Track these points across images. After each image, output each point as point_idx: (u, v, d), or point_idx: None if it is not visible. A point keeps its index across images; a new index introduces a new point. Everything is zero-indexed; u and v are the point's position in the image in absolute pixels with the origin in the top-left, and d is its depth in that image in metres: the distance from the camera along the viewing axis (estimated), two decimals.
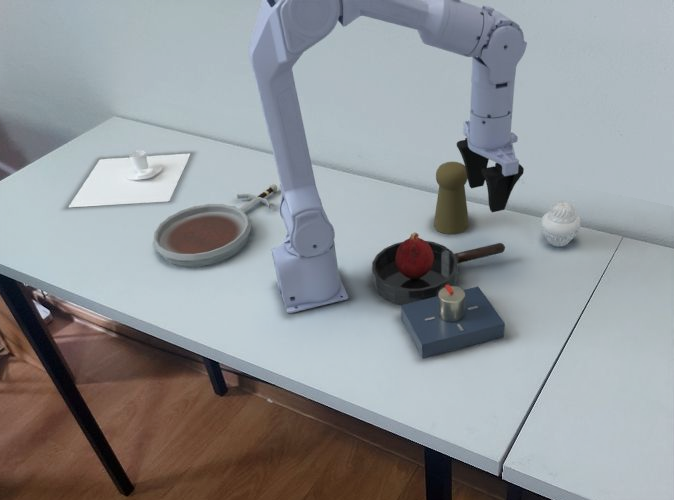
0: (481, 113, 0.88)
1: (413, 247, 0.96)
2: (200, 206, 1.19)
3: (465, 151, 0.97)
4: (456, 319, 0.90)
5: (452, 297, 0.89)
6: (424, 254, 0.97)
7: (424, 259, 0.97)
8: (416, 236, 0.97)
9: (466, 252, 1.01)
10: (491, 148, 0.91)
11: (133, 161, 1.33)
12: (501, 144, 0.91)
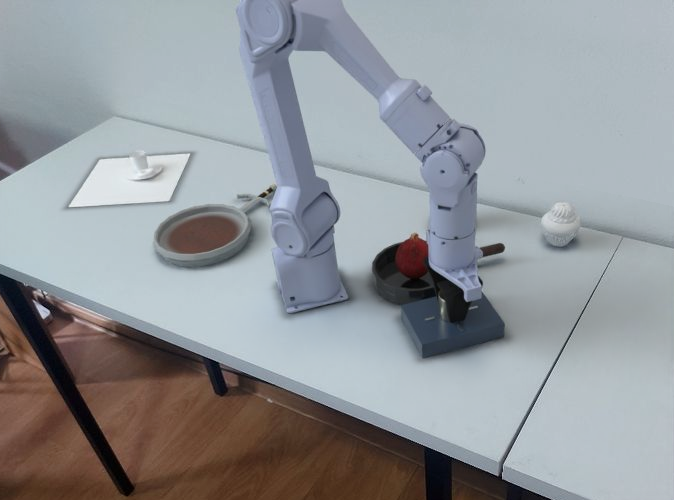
0: (430, 227, 0.81)
1: (413, 247, 0.96)
2: (200, 206, 1.19)
3: (432, 269, 0.88)
4: None
5: None
6: (424, 254, 0.97)
7: None
8: (416, 236, 0.97)
9: None
10: (453, 268, 0.83)
11: (133, 161, 1.33)
12: (464, 264, 0.83)
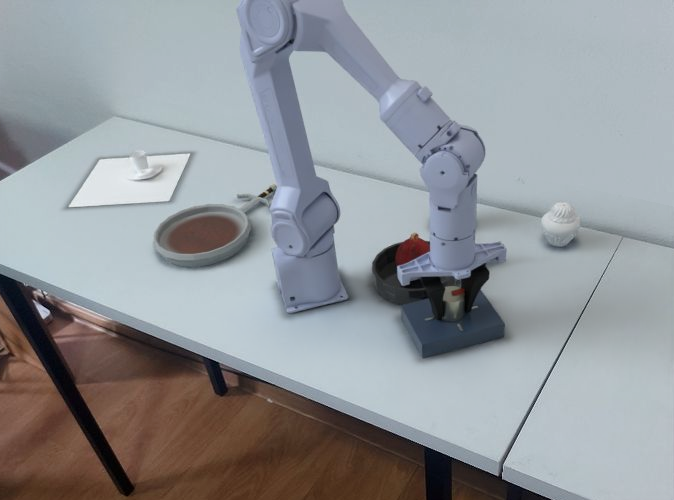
0: (430, 228, 0.82)
1: (413, 247, 0.96)
2: (200, 206, 1.19)
3: None
4: None
5: (446, 294, 0.89)
6: None
7: None
8: (416, 236, 0.97)
9: None
10: (430, 257, 0.85)
11: (133, 161, 1.33)
12: (433, 261, 0.84)
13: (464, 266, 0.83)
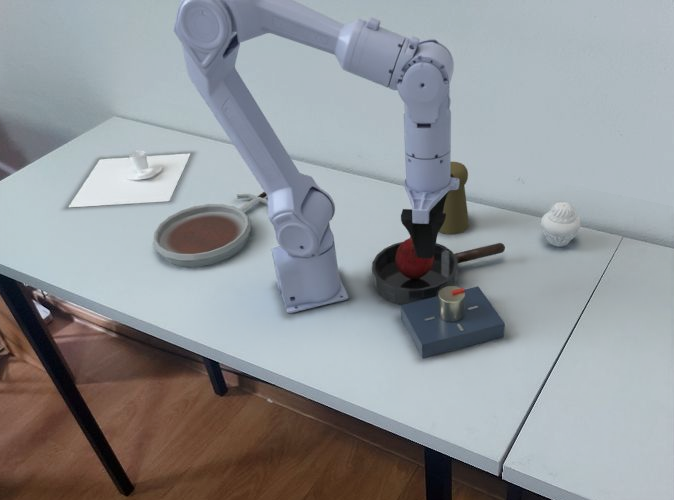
0: (407, 150, 0.81)
1: (413, 247, 0.96)
2: (200, 206, 1.19)
3: None
4: (439, 314, 0.91)
5: (445, 294, 0.89)
6: None
7: (424, 259, 0.97)
8: None
9: (466, 252, 1.01)
10: (417, 190, 0.83)
11: (133, 161, 1.33)
12: (428, 188, 0.83)
13: (450, 177, 0.85)
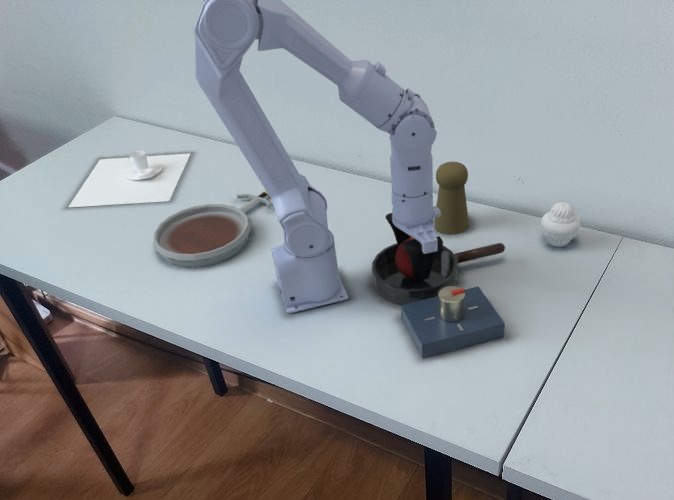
0: (397, 191, 0.90)
1: None
2: (200, 206, 1.19)
3: (394, 224, 0.98)
4: (439, 314, 0.91)
5: (445, 294, 0.89)
6: None
7: None
8: None
9: (466, 252, 1.01)
10: (412, 225, 0.92)
11: (133, 161, 1.33)
12: (422, 221, 0.92)
13: None
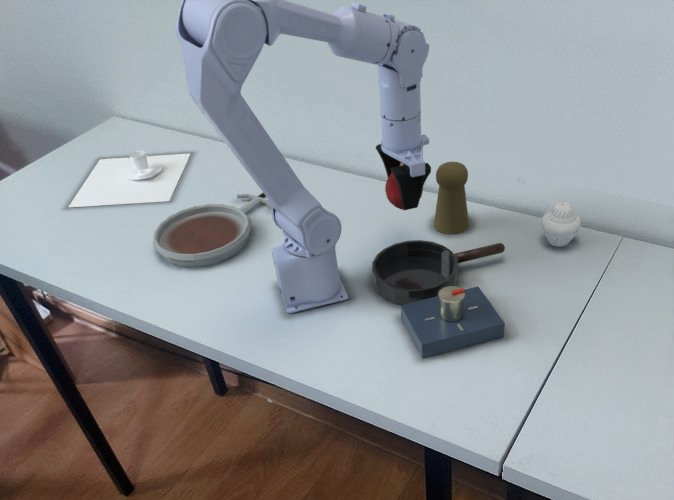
0: (395, 117, 0.91)
1: None
2: (200, 206, 1.19)
3: (383, 154, 1.00)
4: (439, 314, 0.91)
5: (445, 294, 0.89)
6: None
7: None
8: None
9: (466, 252, 1.01)
10: (401, 150, 0.94)
11: (133, 161, 1.33)
12: (411, 146, 0.94)
13: None
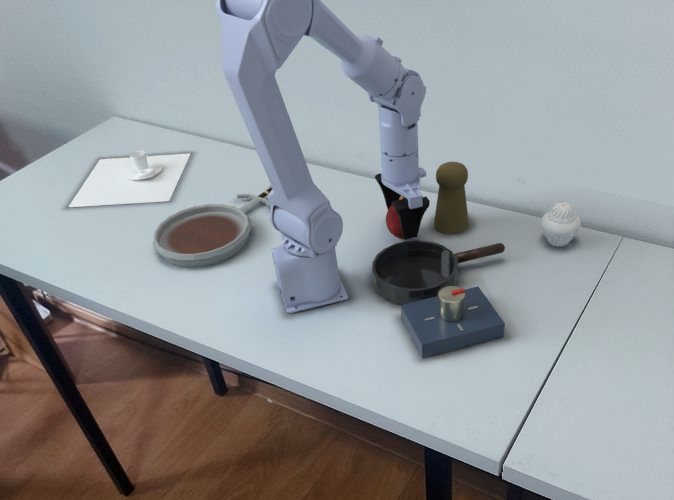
0: (397, 153, 0.97)
1: None
2: (200, 206, 1.19)
3: (382, 183, 1.07)
4: (439, 314, 0.91)
5: (445, 294, 0.89)
6: None
7: None
8: None
9: (466, 252, 1.01)
10: (400, 183, 1.00)
11: (133, 161, 1.33)
12: (409, 179, 1.00)
13: None
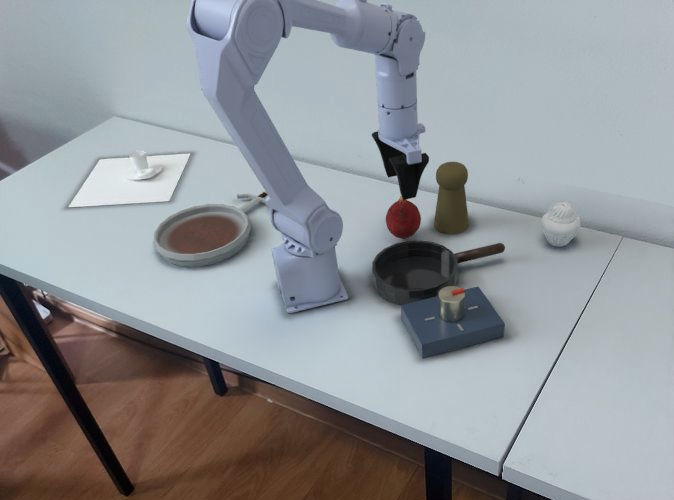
0: (394, 105, 0.92)
1: (401, 208, 1.05)
2: (200, 206, 1.19)
3: (379, 141, 1.02)
4: (439, 314, 0.91)
5: (445, 294, 0.89)
6: (412, 215, 1.06)
7: (412, 219, 1.06)
8: None
9: (466, 252, 1.01)
10: (398, 138, 0.96)
11: (133, 161, 1.33)
12: (407, 134, 0.96)
13: None
